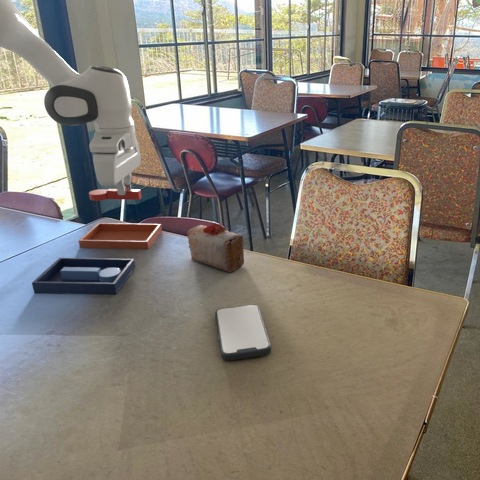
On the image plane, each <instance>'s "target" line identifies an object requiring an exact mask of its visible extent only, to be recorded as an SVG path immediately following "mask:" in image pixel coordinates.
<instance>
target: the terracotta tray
mask: <svg viewBox="0 0 480 480" xmlns="http://www.w3.org/2000/svg"><path fill="white" fill-rule="evenodd" d="M162 232H163V228H162V223H132V222H131V223H130V222H128V223H127V222H126V223H124V222H97V223H96V224H95V225H94V226H93V227H92V228H91V229H90V230H89V231H87V232H86V233H85V234H84V235H83V236H81V238H79V239H78V245H79V248H80V249H112V250H117V249H119V250H149V249H150V248H151V247H152V245H153V244H154V242H155V241H156V240H157V238H158V237H159V236H160V234H161V233H162Z"/></svg>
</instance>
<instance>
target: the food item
mask: <svg viewBox="0 0 480 480" xmlns="http://www.w3.org/2000/svg"><path fill="white" fill-rule="evenodd" d="M187 239H188V240H187V241H188V248H189V252H190V258H191V259H190V260H191V261H192V262H197V263H201V264H203V265H208V266H210V267H214V268H215V269H219V270H222V271H224V272H228V273H233V272H234V271H236V270H237V269H239V268H242V267H243V266H244V264H245V251H244V236H243V234H238V233H235V232H232V231H229V230H227V229H225V228H224V226H223V222H222V221H221V222H220V223H219V224H217V223H215V222H214V223H212V224H209V225H203V224H200V225H196V226H193V227H192V228H190V229H189V230H187Z"/></svg>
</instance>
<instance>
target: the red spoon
mask: <svg viewBox="0 0 480 480" xmlns="http://www.w3.org/2000/svg"><path fill="white" fill-rule="evenodd" d="M126 191H127V193H126V194H125V195H118V193H117V188H108V189H104V188H103V189H100V188H99V189H98V188H97V189H93V190H90V191H89V192H88V195H89V200H90V201H95V202H101V201H105V200H129V201H130V200H133V201H134V200H136V201H137V200H141V199H142V198H143V197H142V190H141V189H139V188H131V189H126Z"/></svg>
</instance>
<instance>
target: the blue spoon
mask: <svg viewBox="0 0 480 480" xmlns="http://www.w3.org/2000/svg"><path fill="white" fill-rule="evenodd" d="M60 272H61V277H62V279H63V280H99V281H100V282H102V283H113V282H114V281H115V279H116V278H117V277H118V276H119V274H120V273H121V270H120V269H118V268H106V269H103V270H100V268H85V267H64V268H63V269H62V270H61V271H60Z"/></svg>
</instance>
